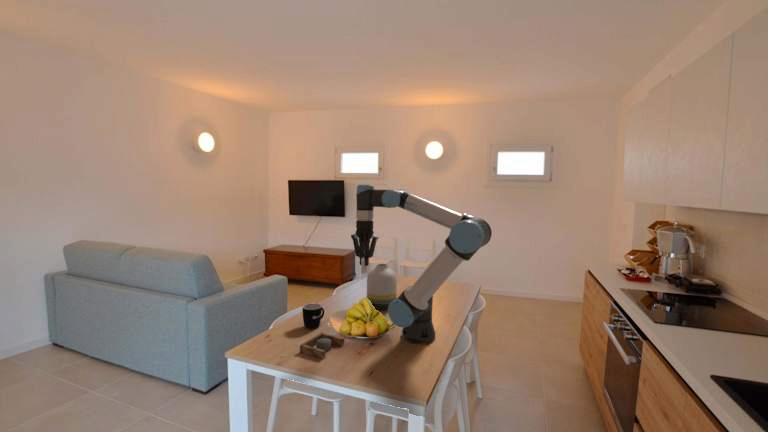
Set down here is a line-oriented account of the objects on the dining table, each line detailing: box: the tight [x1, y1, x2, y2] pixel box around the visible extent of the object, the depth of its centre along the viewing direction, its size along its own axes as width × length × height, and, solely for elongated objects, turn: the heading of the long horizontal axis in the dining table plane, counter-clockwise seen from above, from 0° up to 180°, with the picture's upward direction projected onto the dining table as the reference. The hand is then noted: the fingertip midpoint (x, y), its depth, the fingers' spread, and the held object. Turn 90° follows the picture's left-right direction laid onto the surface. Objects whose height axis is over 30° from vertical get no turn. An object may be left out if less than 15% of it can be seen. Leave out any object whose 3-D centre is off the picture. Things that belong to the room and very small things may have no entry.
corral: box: [299, 332, 345, 360], centre depth 149 cm, size 12×14×3 cm
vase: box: [366, 263, 398, 310], centre depth 202 cm, size 17×17×24 cm
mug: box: [302, 302, 325, 330], centre depth 172 cm, size 12×9×10 cm
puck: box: [315, 338, 332, 353], centre depth 148 cm, size 6×6×4 cm
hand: (364, 272), depth 159 cm, fingers closed
